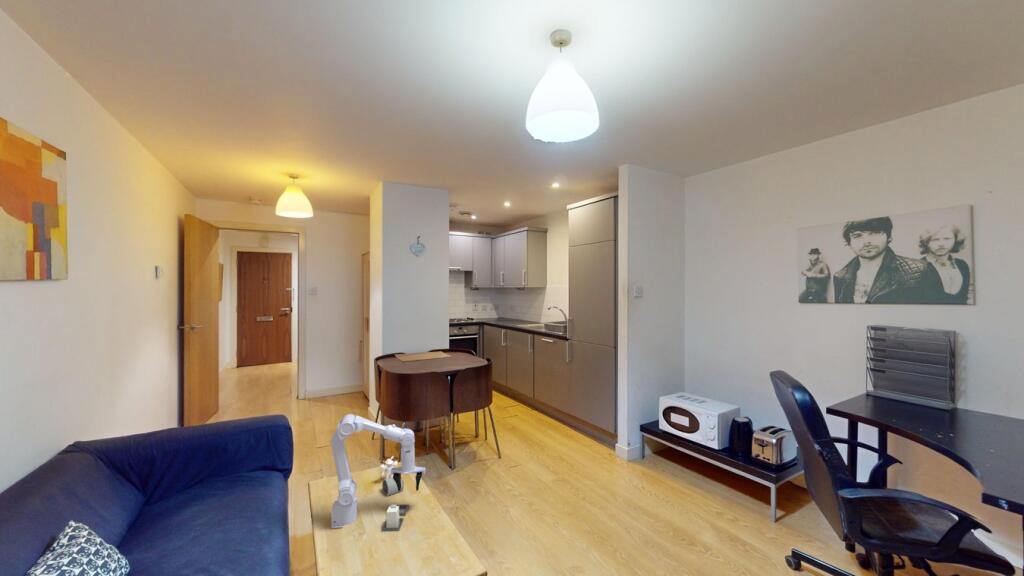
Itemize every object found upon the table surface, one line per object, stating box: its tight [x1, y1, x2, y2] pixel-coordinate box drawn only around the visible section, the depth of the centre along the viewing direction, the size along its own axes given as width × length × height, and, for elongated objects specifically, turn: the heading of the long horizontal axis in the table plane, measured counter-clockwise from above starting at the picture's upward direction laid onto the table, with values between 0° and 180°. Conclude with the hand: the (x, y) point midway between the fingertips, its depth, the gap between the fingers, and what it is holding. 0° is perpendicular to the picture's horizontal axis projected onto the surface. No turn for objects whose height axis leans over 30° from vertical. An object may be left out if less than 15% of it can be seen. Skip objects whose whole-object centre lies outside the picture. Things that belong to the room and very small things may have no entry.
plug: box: [386, 504, 400, 528], centre depth 161 cm, size 4×4×7 cm
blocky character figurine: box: [379, 456, 399, 479], centre depth 198 cm, size 9×4×12 cm, turn 125°
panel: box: [380, 503, 410, 532], centre depth 166 cm, size 9×18×2 cm, turn 2°
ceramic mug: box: [381, 476, 405, 497], centre depth 188 cm, size 11×8×8 cm
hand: (408, 489), depth 171 cm, fingers open, 7 cm apart
